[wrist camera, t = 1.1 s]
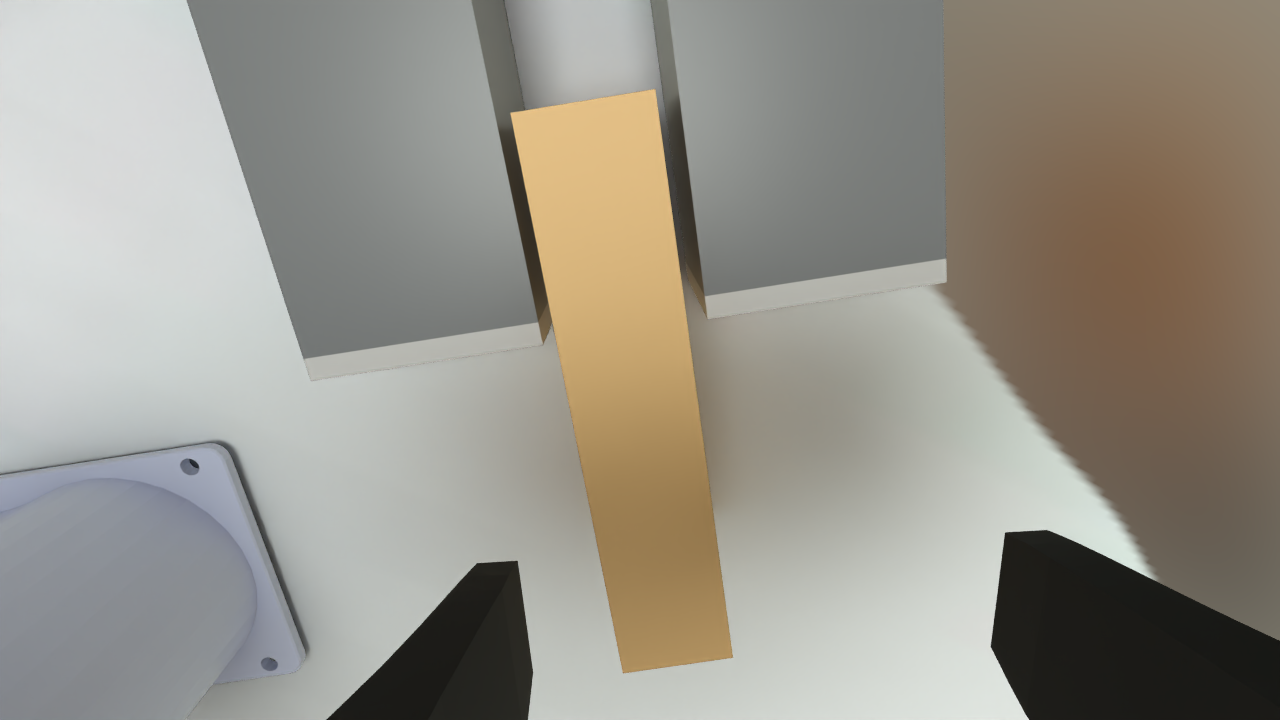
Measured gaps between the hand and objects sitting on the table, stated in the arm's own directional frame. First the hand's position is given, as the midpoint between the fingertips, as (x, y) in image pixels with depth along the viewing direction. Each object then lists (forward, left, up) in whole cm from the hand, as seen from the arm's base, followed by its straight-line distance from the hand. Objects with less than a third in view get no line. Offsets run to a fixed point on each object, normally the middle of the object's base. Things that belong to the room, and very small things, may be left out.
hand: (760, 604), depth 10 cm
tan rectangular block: (-2, +1, -10) cm, 10 cm away
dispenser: (-2, +9, -10) cm, 13 cm away
